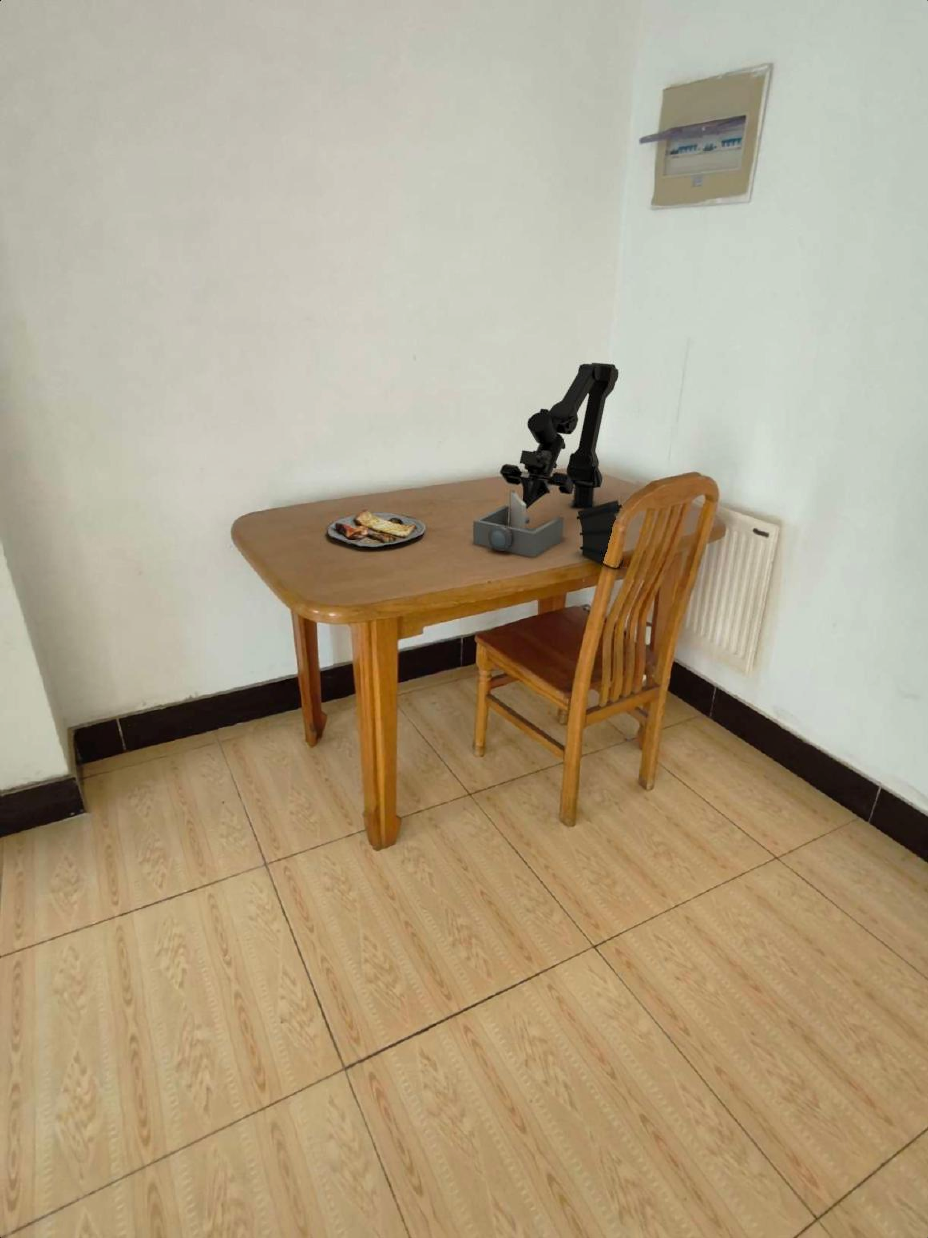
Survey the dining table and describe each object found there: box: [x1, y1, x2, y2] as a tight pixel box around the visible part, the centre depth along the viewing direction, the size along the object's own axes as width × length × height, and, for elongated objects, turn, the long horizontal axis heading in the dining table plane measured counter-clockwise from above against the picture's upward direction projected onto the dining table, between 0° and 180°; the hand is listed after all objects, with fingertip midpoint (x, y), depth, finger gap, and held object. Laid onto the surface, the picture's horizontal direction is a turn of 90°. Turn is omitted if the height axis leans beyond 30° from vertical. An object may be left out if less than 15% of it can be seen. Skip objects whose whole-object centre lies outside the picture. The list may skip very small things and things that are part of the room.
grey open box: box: [472, 505, 565, 559], centre depth 181 cm, size 18×17×7 cm
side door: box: [508, 490, 531, 530], centre depth 184 cm, size 13×2×9 cm, turn 10°
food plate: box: [325, 509, 426, 548], centre depth 187 cm, size 25×23×4 cm
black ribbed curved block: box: [576, 499, 624, 568], centre depth 169 cm, size 4×13×15 cm, turn 36°
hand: (524, 508), depth 180 cm, fingers closed
